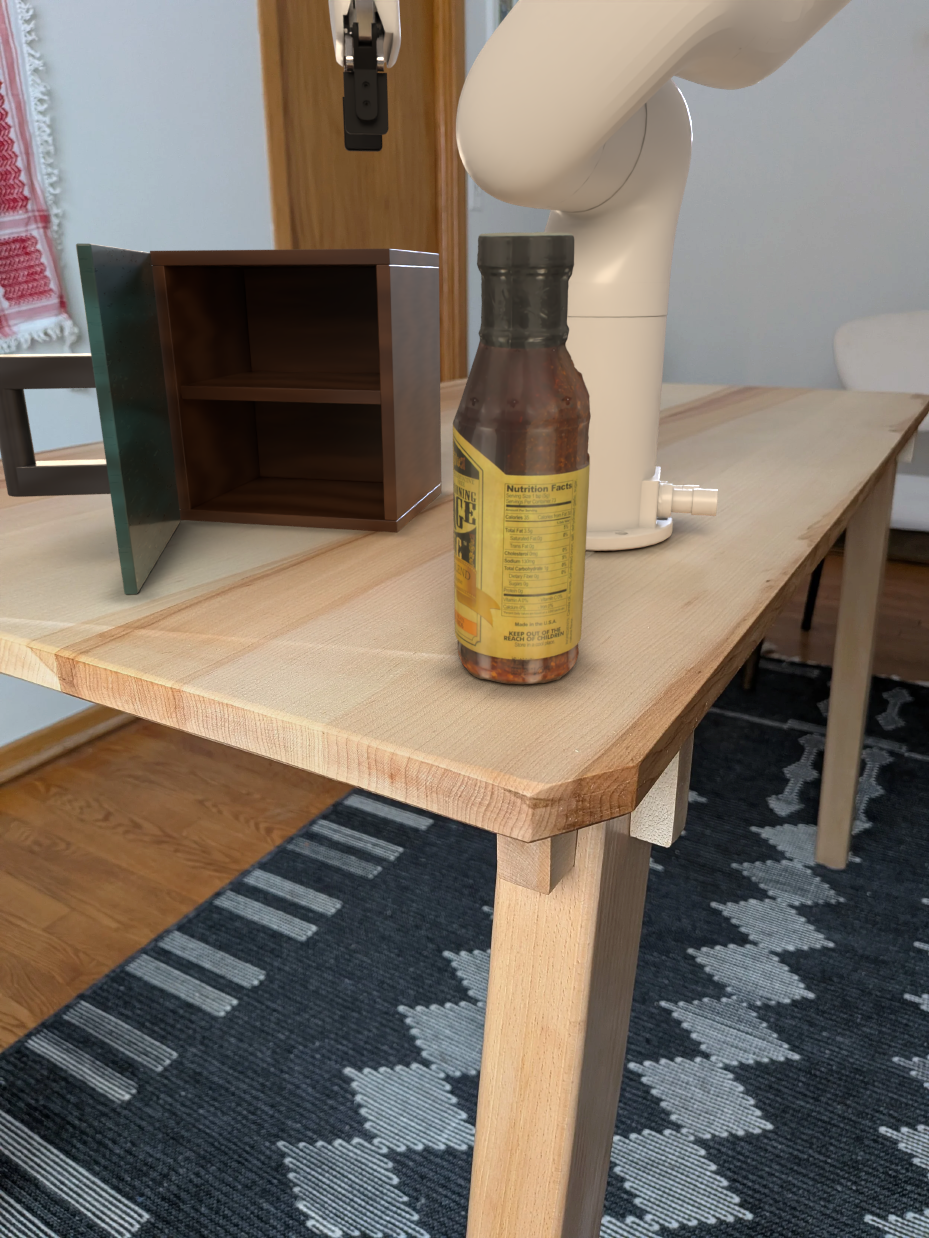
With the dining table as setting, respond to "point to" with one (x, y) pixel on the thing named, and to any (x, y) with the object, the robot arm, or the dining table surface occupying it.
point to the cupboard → (302, 384)
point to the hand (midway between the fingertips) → (365, 142)
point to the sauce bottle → (521, 469)
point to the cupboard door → (105, 410)
